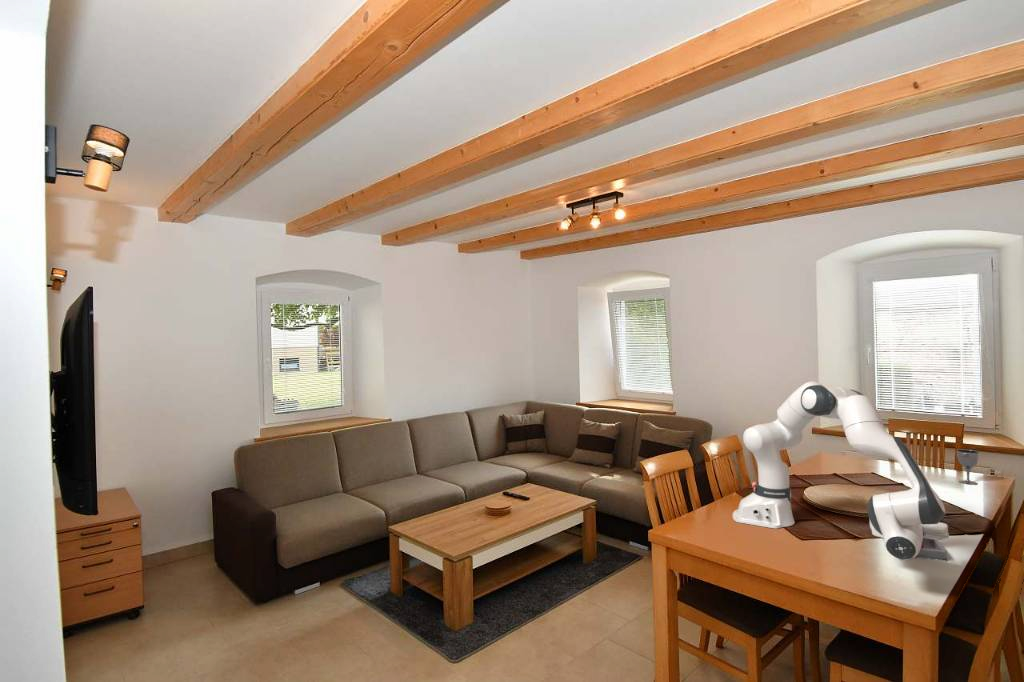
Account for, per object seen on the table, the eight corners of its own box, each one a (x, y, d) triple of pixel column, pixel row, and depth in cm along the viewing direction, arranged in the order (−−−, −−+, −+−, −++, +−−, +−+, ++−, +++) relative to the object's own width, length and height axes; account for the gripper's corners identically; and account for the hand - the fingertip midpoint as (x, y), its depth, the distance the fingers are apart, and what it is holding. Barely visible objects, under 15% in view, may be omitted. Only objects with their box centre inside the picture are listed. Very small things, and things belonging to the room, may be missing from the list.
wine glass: (964, 484, 253) (963, 452, 253) (953, 480, 261) (953, 449, 261) (983, 485, 252) (983, 453, 252) (972, 480, 260) (971, 449, 259)
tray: (891, 554, 182) (891, 545, 182) (881, 536, 197) (881, 529, 197) (947, 560, 176) (946, 552, 176) (932, 542, 191) (932, 534, 191)
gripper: (948, 528, 160) (949, 514, 170) (866, 514, 173) (871, 502, 183) (948, 549, 160) (949, 534, 171) (866, 533, 173) (872, 520, 184)
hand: (908, 517), depth 177 cm, fingers open, 8 cm apart
